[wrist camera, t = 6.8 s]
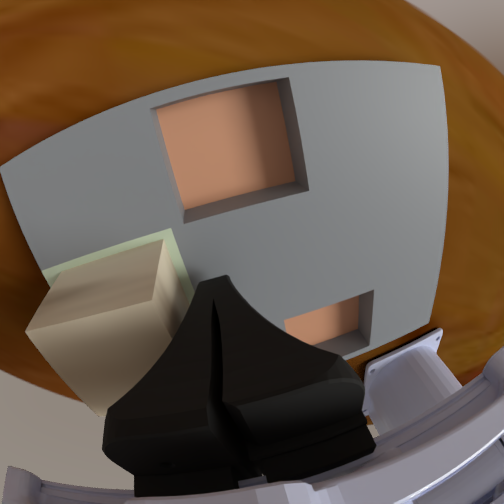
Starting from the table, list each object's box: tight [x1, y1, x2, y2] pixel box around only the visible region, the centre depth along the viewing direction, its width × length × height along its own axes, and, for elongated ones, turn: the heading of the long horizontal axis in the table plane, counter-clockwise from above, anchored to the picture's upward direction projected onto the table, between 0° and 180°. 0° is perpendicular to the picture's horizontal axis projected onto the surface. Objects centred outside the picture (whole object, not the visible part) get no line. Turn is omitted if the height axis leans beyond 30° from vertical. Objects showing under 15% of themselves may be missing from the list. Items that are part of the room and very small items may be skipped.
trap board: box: [0, 61, 448, 360], centre depth 13 cm, size 16×20×2 cm
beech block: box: [25, 239, 190, 416], centre depth 10 cm, size 5×5×4 cm
